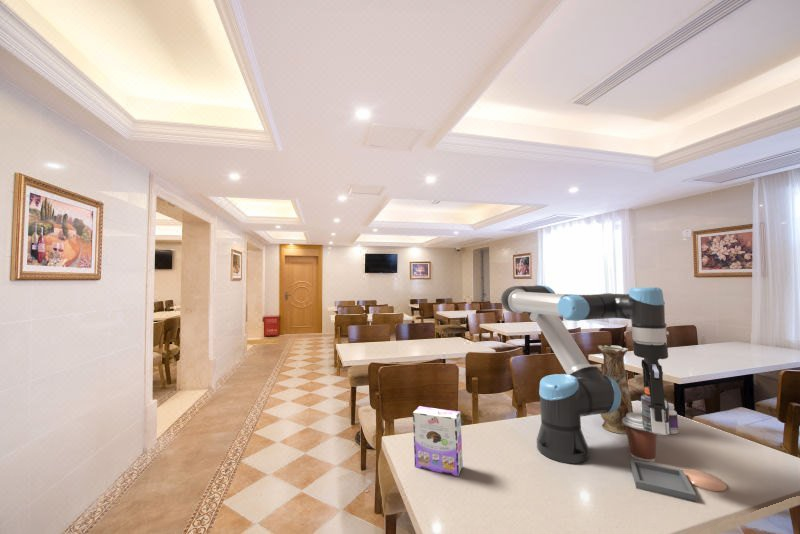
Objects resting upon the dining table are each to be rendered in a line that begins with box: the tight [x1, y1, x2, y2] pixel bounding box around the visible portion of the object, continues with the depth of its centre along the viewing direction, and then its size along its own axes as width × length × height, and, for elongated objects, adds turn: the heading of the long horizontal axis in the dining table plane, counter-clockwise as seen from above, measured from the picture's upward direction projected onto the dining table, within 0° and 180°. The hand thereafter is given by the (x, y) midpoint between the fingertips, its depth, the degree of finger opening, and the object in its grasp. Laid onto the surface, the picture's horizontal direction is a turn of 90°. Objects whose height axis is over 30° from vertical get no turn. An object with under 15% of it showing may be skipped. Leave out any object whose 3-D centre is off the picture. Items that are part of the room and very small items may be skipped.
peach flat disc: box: [682, 468, 727, 493], centre depth 85 cm, size 9×9×1 cm
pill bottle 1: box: [640, 387, 671, 436], centre depth 86 cm, size 6×6×11 cm
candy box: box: [412, 405, 464, 477], centre depth 95 cm, size 14×6×16 cm, turn 65°
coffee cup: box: [622, 411, 657, 463], centre depth 98 cm, size 9×9×12 cm
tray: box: [629, 459, 698, 504], centre depth 85 cm, size 12×12×2 cm
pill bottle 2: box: [668, 401, 680, 435], centre depth 114 cm, size 5×5×10 cm
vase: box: [597, 344, 634, 435], centre depth 118 cm, size 10×11×30 cm
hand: (656, 427), depth 86 cm, fingers closed on pill bottle 1, 6 cm apart
